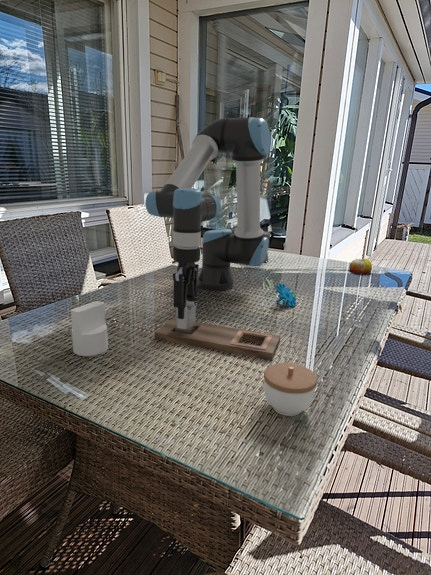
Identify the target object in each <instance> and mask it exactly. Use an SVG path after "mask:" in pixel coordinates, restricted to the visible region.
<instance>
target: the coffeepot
mask: <svg viewBox="0 0 431 575" xmlns="http://www.w3.org/2000/svg"><path fill="white" fill-rule="evenodd" d="M260 228H261V229H262V230H263V231H264V227H261V226H260ZM274 236H275V233H274V232H273V230H272V231H271V230H269V231H264V237H266V238H268V239H269V247H271V246H272V243H273V239H274ZM268 252H269V251H268ZM268 252H267V255H266V258H265V260H264V262H266V261H268V262H269V253H268ZM266 263H267V262H266Z"/></svg>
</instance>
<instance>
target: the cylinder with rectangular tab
mask: <svg viewBox="0 0 431 575" xmlns="http://www.w3.org/2000/svg"><path fill="white" fill-rule="evenodd" d="M105 306H106V304H105V302H103V301H100V300H96V301H92V302H89V303H87V304H83V305H81V306H78V307H75V308H72V309H70V313H71V314H70V316H71V340H72V352H73V353H74V354H76V355H78V356H82V357H83V356H84V357H93V356H97V355H100V354H103V353H105V352H106V351H107V350H108V349H109V343H108V342H109V339H108V325H107V324H106V307H105Z"/></svg>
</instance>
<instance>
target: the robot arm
mask: <svg viewBox="0 0 431 575" xmlns="http://www.w3.org/2000/svg"><path fill="white" fill-rule="evenodd" d="M270 131H271V130H270V127H269V125H268V123H267V121H266V120H265V119H264V118H261V117H252V116H251V117H223V118H219V119H216V120H213V121H212V122H210V123H209V124H207V125H206V126H205V127H203V128H202V129H201V130H200V131H199V132H198V133H197V134H196V135H195V137H194V138H193V140H192V143H191V144H192V146H191V148H190V149H189V150H188V151H187V153H186V154H185V156H184V158H182V160H181V162H180V163H178V165H177V167H176V168H175V170H173V172H172V173H171V175H170V177H169V178H168V180H167V181H166V182H165V184H164V185H163V187H162V188H161V189H160V191H159V190H152V191H150V192H148V193H147V195H146V198H145V201H144V202H145V203H144V204H145V208H146V211H147V214H149V215H150V216H154V217H158V218H168V219H169V218H170V219H173V220H172V222H173V229H172V230H173V231H172V234H171V236H172V239H173V241H172V242H173V244H172V245H173V248H172V259H173V261H175V262H177V263H178V264H177V270H176V272H174V273H172V279H173V307H174V308H176V307H177V328H180V329H187V307H186V304H192V305H195V302H197V301H198V298H197V296H198V287H199V288H202V289H203V290H209V291H210V290H211V291H225V290H230V289H232V288H233V287H234V282H235V280H234V276H233V274H232V270H231V264H235V265H242V266H249V267H261V266H262V265H263V264H264V263H263V262H264V260H265V258H266V255H267V252H269V247H270V246H269V241H270V238H269V239H268V238H266V237H264V229H263V230H262V229H261V163H262V162H263V161H264V160H265V155H268V154H269V152H270V150H271V145H272V142H271V141H272V140H271V139H272V138H271V132H270ZM220 154H231V161H232V162H233V163H234V164H235V166H236V168H235V170H236V171H235V173H236V174H235V175H236V179H235V181H236V215H237V216H236V218H237V220H236V221H237V225H236V226H237V228H235V230H234V231H232V229H229V228H221V229H211V230H206V231H205V232H204V233H203V235H202V229H201V228H202V222H207V221H212V220H213V219H215V218H216V219H217V217H218V216H219V215H220V213H221V210H222V203H221V201H220V199H219V198H218V196H216V195H215V194H212V193H210V194H209V193H203V194H202V191H201V190H200V189H199V188H198V189H197V188H193V187H194V185H195V184H196V182H197V181H198V180H199V178H200V176H201V175H202V173H203V172H204V170H206V167H207V166H208V164H209V163H210V161H212V160H214V159H215V158H216V157H217V156H218V155H220ZM201 236H202V237H201ZM201 239H202V240H201ZM201 241H202V242H201ZM201 243H202V244H201ZM201 245H202V258H201V248H200V247H201ZM201 260H202V262H201V263H202V264H201V269H200V271H199V268H200V266H199V264H197V263H198V262H199V261H201ZM198 273H199V274H198Z"/></svg>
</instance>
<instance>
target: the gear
mask: <svg viewBox="0 0 431 575" xmlns="http://www.w3.org/2000/svg"><path fill="white" fill-rule="evenodd" d="M275 287H276V291H275V292H276V293H278V295H277V296H278V299H277V300H276V301H275V303H277V304H278V303H280V302H282V303H283V304H286V303H287V304H286V306H287V307H289V308H290V307H291V308H294V307H296V305H297V304H298V303H297V300H298V299H297V297H296V296H295V293H296V291H294V290H293V291H292V289H291V288H290V286H288V287H287V284H285V283H282V282H280V283H278V284H277V285H276V286H275ZM286 287H287V288H286Z"/></svg>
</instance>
